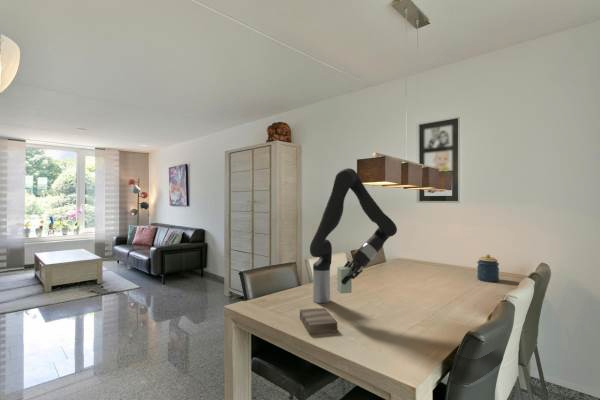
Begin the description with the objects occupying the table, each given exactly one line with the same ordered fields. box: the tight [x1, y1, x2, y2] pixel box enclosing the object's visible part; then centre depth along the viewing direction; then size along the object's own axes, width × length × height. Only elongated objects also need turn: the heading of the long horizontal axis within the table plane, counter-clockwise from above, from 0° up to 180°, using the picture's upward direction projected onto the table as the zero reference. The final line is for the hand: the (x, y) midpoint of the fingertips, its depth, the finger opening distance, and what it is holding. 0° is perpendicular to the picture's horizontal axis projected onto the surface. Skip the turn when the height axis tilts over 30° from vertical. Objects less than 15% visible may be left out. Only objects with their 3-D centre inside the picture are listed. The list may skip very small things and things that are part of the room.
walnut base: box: [299, 307, 338, 335], centre depth 136 cm, size 18×12×4 cm, turn 12°
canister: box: [476, 254, 500, 283], centre depth 213 cm, size 13×13×18 cm
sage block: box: [336, 266, 353, 294], centre depth 143 cm, size 5×5×11 cm
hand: (340, 281), depth 142 cm, fingers closed on sage block, 5 cm apart
